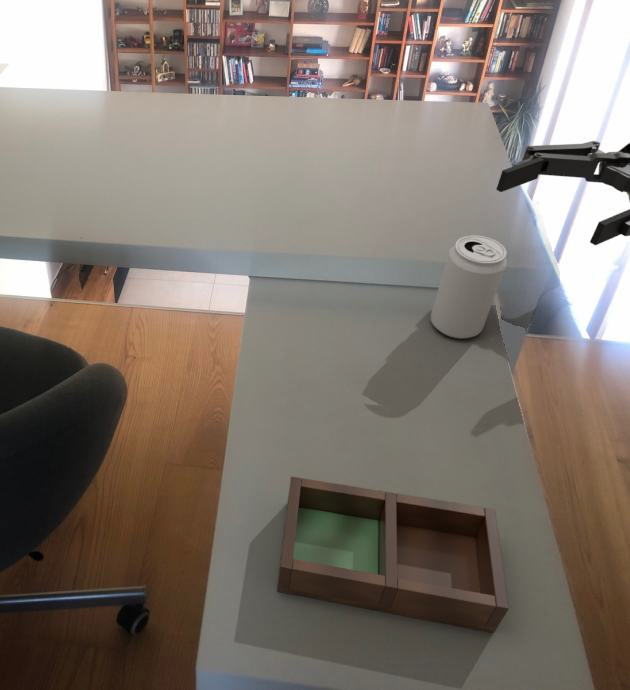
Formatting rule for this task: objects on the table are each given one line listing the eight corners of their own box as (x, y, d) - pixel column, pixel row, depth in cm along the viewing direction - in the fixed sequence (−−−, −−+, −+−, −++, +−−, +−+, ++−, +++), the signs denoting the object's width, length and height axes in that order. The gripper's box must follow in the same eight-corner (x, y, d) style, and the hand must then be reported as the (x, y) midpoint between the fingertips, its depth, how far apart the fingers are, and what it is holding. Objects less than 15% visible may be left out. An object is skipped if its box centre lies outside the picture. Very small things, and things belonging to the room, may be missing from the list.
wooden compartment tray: (482, 535, 66) (495, 509, 63) (494, 633, 59) (509, 609, 56) (287, 502, 70) (291, 476, 67) (276, 591, 63) (280, 566, 60)
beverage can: (444, 303, 92) (467, 226, 84) (490, 324, 89) (519, 246, 80) (419, 326, 89) (441, 249, 81) (467, 349, 85) (494, 270, 77)
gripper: (745, 231, 83) (628, 287, 76) (569, 148, 100) (460, 188, 93) (780, 176, 78) (659, 229, 71) (589, 98, 95) (475, 135, 88)
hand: (546, 206), depth 82 cm, fingers open, 13 cm apart
